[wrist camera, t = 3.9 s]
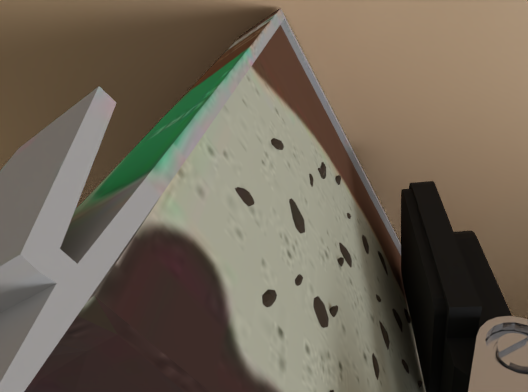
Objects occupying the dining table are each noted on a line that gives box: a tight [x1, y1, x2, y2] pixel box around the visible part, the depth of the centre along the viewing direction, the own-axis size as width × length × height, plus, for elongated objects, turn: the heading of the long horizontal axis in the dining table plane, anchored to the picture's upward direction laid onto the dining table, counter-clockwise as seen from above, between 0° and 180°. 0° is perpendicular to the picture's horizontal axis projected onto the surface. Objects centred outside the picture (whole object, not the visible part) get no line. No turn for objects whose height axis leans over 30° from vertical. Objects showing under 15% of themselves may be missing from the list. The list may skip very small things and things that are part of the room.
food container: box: [0, 8, 426, 392], centre depth 9 cm, size 12×6×10 cm, turn 30°
